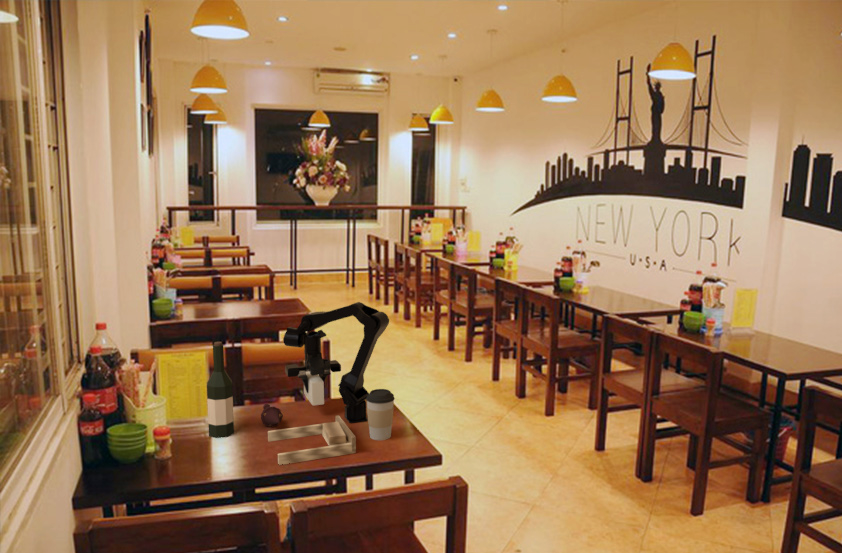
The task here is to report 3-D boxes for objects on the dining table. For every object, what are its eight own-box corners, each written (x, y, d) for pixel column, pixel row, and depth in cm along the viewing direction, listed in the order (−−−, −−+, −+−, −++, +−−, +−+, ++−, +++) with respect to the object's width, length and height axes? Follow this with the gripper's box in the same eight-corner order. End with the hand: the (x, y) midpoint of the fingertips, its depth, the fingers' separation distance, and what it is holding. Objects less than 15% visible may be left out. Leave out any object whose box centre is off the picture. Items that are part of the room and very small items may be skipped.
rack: (339, 430, 210) (339, 415, 209) (355, 452, 192) (355, 437, 192) (268, 440, 201) (267, 425, 201) (278, 465, 184) (278, 448, 183)
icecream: (291, 412, 208) (276, 402, 221) (269, 410, 204) (255, 400, 217) (287, 433, 208) (272, 422, 221) (265, 432, 204) (251, 420, 217)
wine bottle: (238, 428, 211) (235, 339, 206) (228, 438, 202) (225, 346, 198) (214, 427, 211) (210, 339, 207) (203, 437, 203) (199, 345, 199)
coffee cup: (360, 438, 203) (360, 392, 201) (375, 428, 211) (375, 384, 209) (385, 443, 199) (385, 397, 197) (399, 433, 207) (399, 389, 205)
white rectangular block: (314, 391, 233) (314, 370, 231) (324, 404, 220) (323, 381, 219) (303, 393, 231) (303, 371, 230) (312, 405, 218) (312, 383, 217)
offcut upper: (338, 429, 206) (338, 421, 206) (345, 443, 195) (345, 435, 194) (322, 430, 204) (322, 423, 204) (329, 445, 193) (329, 437, 193)
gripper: (290, 357, 212) (291, 402, 214) (344, 351, 219) (345, 395, 221) (284, 349, 222) (285, 392, 224) (336, 344, 229) (337, 386, 231)
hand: (313, 391), depth 225 cm, fingers closed on white rectangular block, 4 cm apart
